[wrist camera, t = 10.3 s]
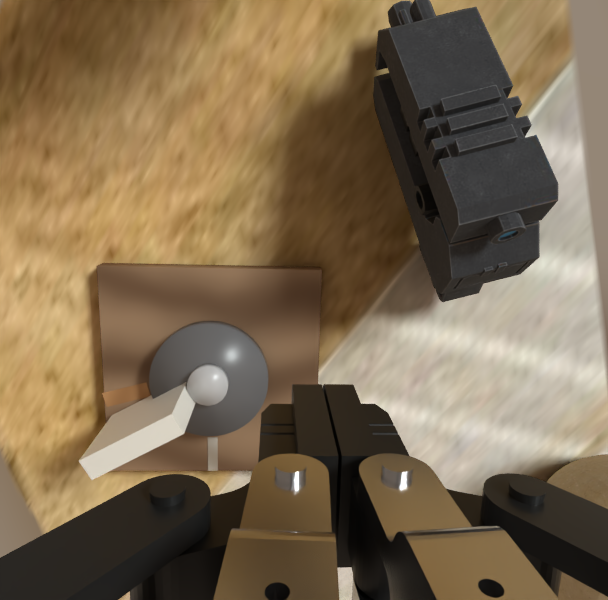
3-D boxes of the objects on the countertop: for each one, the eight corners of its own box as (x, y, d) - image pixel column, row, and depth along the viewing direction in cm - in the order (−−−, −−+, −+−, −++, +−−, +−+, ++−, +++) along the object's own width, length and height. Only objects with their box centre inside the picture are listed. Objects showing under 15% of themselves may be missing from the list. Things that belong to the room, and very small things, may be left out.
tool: (421, 322, 40) (466, 247, 25) (355, 117, 45) (361, -38, 31) (498, 303, 40) (586, 217, 25) (422, 100, 45) (459, -63, 31)
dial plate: (101, 263, 40) (94, 265, 39) (320, 267, 41) (321, 270, 40) (112, 461, 44) (106, 471, 42) (313, 460, 45) (314, 470, 43)
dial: (234, 300, 39) (225, 323, 32) (288, 397, 41) (290, 439, 34) (86, 376, 40) (47, 414, 33) (146, 468, 42) (121, 523, 35)
